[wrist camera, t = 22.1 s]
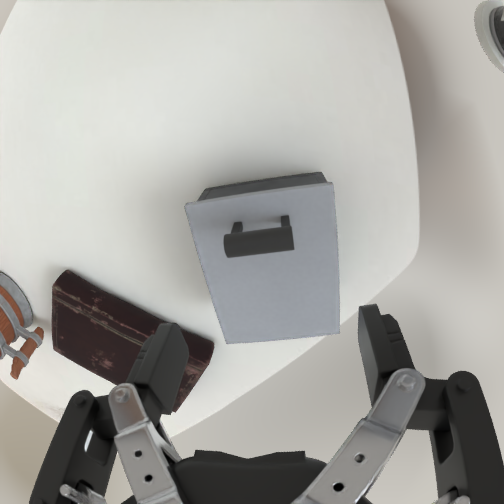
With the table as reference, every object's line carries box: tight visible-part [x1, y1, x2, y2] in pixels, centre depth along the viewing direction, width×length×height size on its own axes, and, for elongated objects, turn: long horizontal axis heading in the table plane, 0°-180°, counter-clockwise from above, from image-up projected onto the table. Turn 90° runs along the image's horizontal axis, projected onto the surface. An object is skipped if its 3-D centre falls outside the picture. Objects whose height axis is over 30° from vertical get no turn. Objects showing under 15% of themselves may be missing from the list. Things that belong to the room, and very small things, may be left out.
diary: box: [52, 270, 214, 412], centre depth 43 cm, size 19×25×5 cm
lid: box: [185, 182, 340, 344], centre depth 27 cm, size 16×13×5 cm
